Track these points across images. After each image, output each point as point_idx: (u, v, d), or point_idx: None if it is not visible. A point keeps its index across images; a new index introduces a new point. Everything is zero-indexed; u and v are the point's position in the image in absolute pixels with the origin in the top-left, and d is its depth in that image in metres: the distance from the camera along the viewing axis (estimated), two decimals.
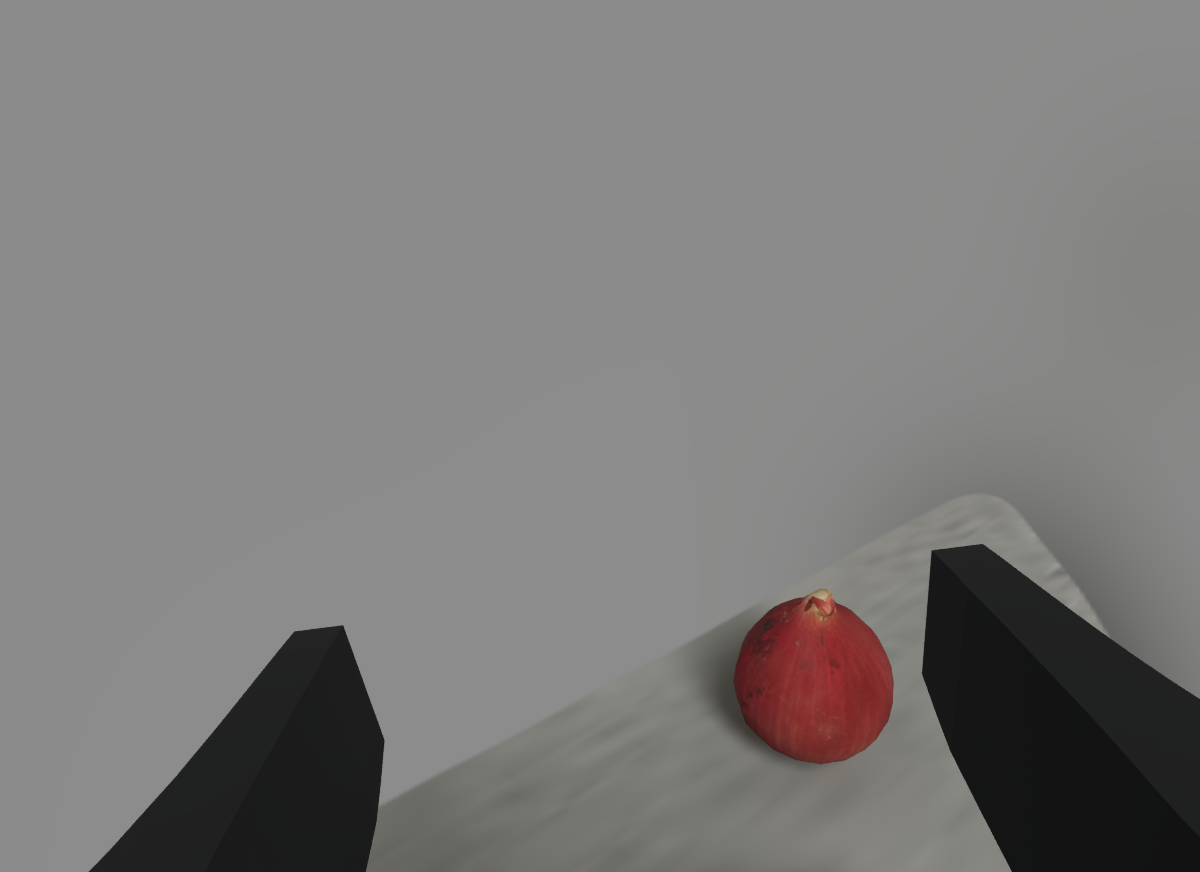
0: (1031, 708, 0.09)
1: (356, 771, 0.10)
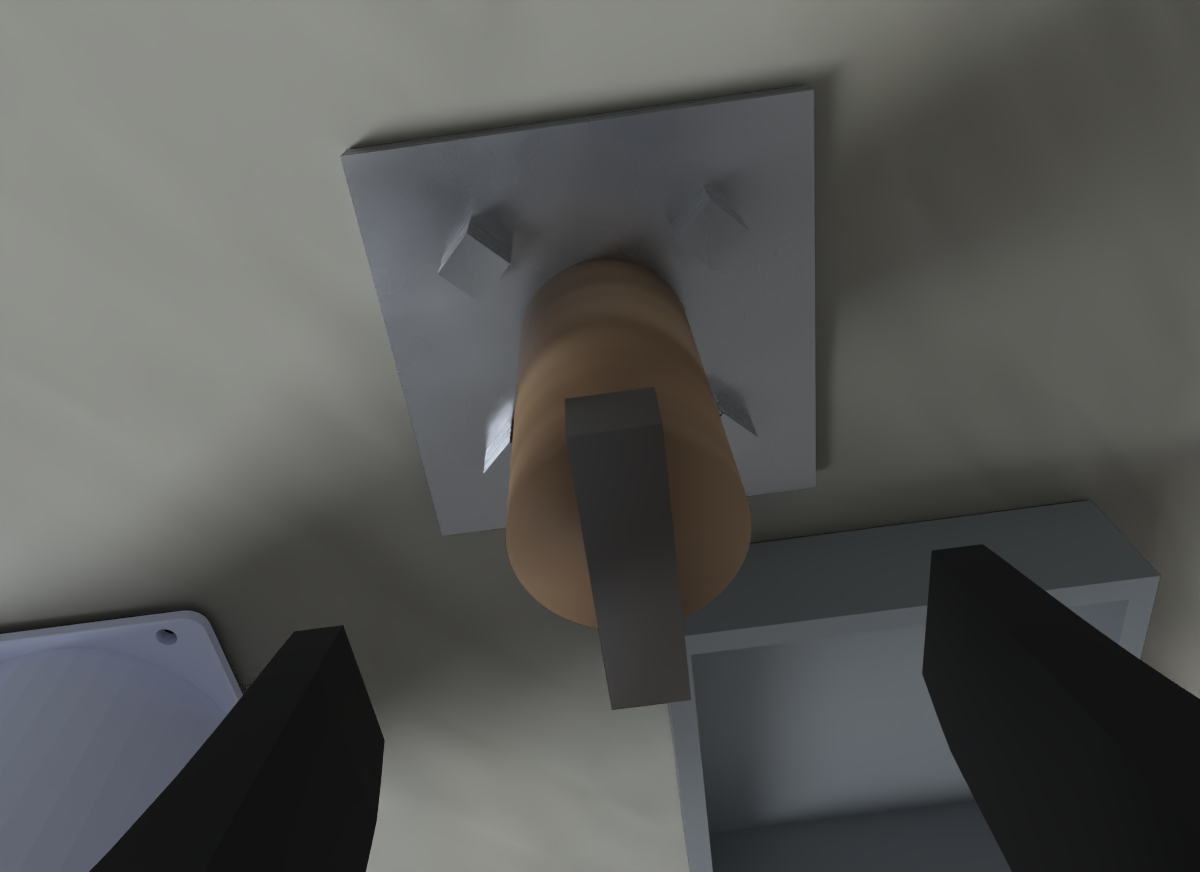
0: (1031, 708, 0.09)
1: (356, 771, 0.10)
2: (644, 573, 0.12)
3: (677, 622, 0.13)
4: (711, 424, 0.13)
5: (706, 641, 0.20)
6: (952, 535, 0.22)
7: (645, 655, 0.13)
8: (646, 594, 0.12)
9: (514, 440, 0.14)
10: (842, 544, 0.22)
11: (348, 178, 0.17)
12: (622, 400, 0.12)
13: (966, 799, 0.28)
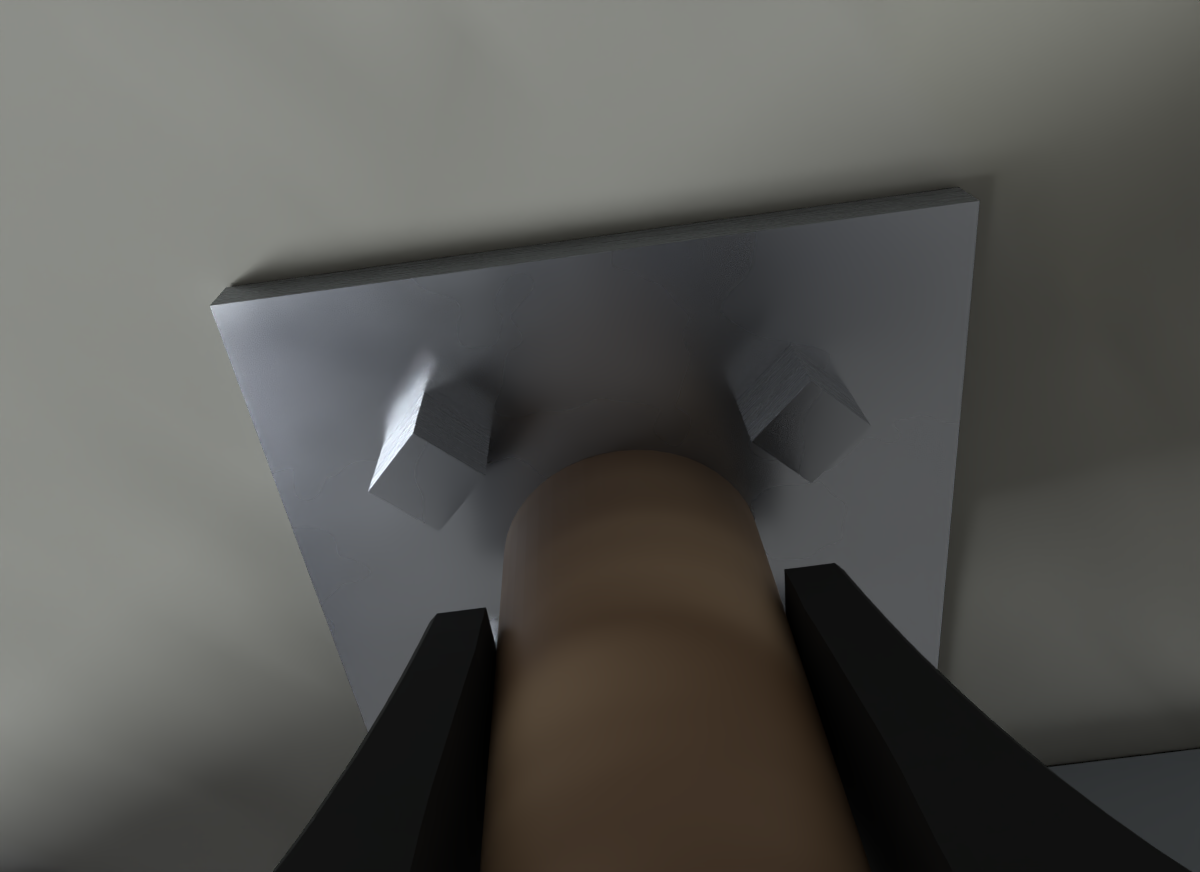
0: (850, 730, 0.09)
1: None
2: None
3: None
4: None
5: None
6: (1118, 794, 0.16)
7: None
8: None
9: (483, 865, 0.08)
10: None
11: (227, 336, 0.11)
12: None
13: None
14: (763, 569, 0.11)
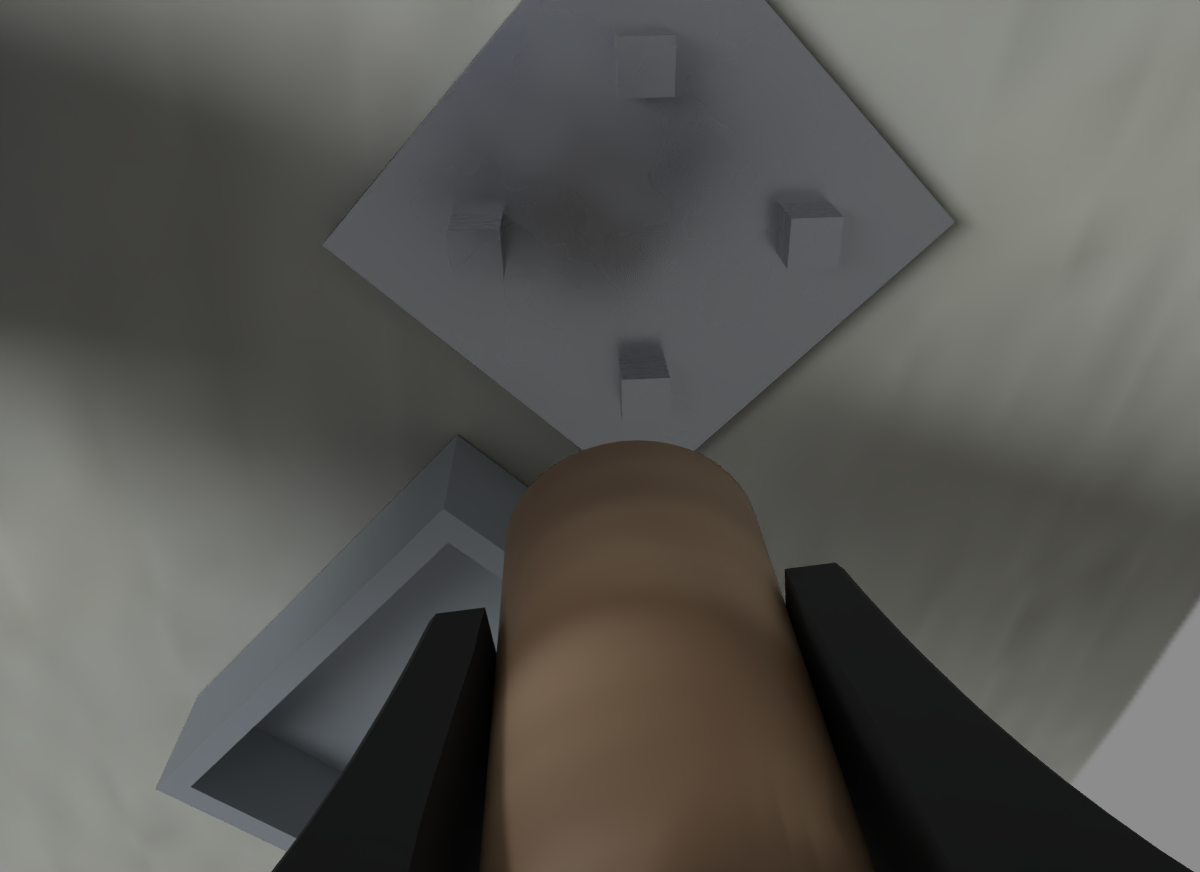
0: (851, 730, 0.09)
1: None
2: None
3: None
4: None
5: (473, 541, 0.19)
6: None
7: None
8: None
9: (485, 842, 0.08)
10: None
11: None
12: None
13: None
14: (763, 559, 0.11)
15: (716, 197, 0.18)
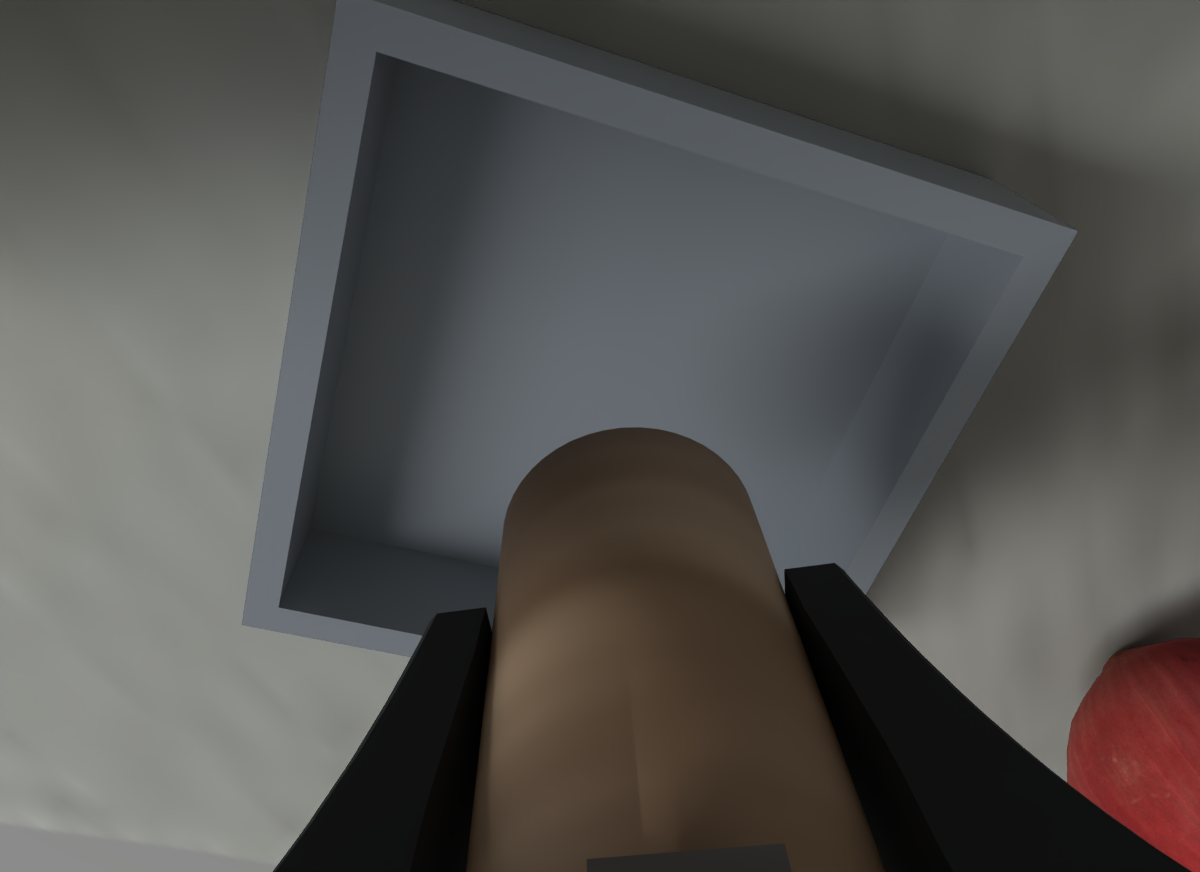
0: (850, 730, 0.09)
1: None
2: None
3: None
4: (857, 832, 0.07)
5: (410, 32, 0.12)
6: (816, 125, 0.15)
7: None
8: None
9: (478, 799, 0.08)
10: (665, 74, 0.15)
11: None
12: None
13: None
14: (762, 544, 0.11)
15: None
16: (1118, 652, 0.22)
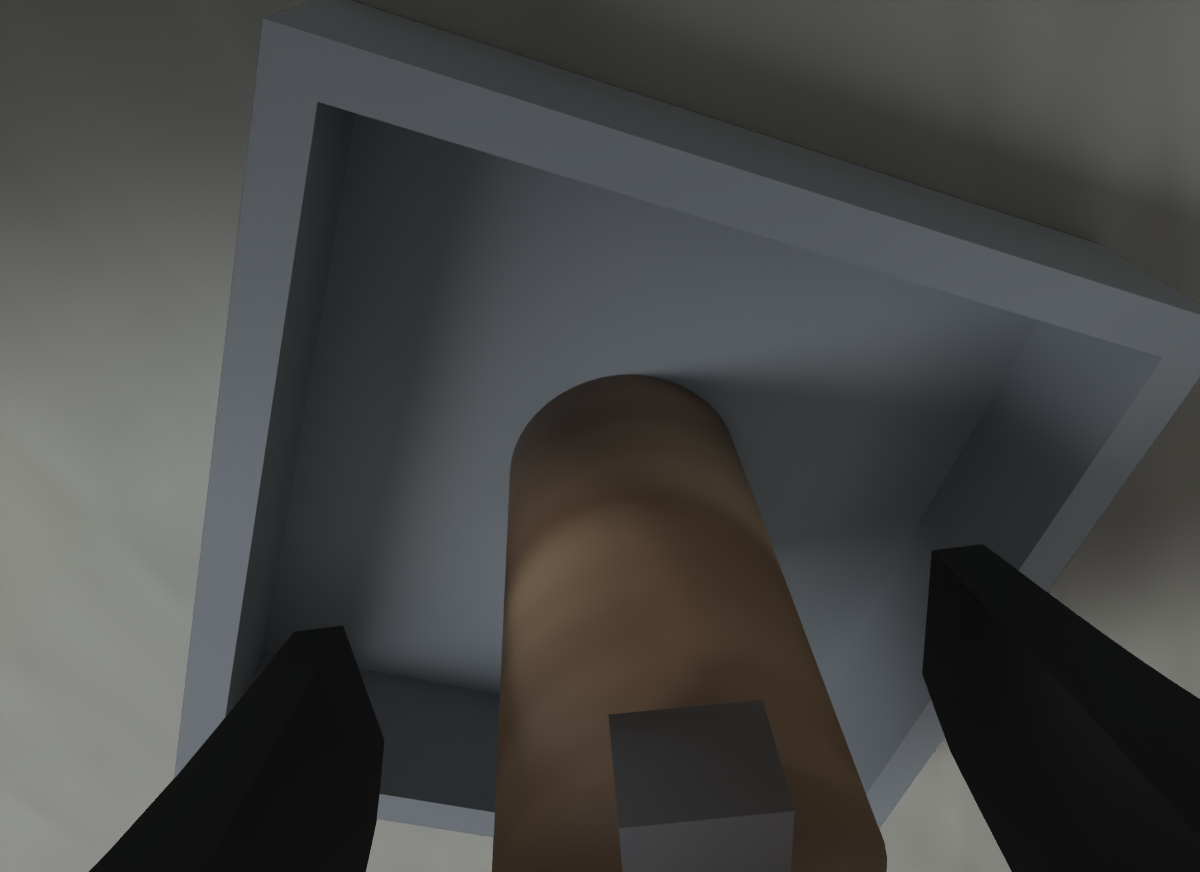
0: (1031, 708, 0.09)
1: (356, 771, 0.10)
2: None
3: None
4: (821, 704, 0.09)
5: (362, 76, 0.09)
6: (888, 182, 0.12)
7: None
8: None
9: (506, 689, 0.09)
10: (698, 119, 0.12)
11: None
12: (711, 732, 0.07)
13: None
14: (743, 477, 0.12)
15: None
16: None
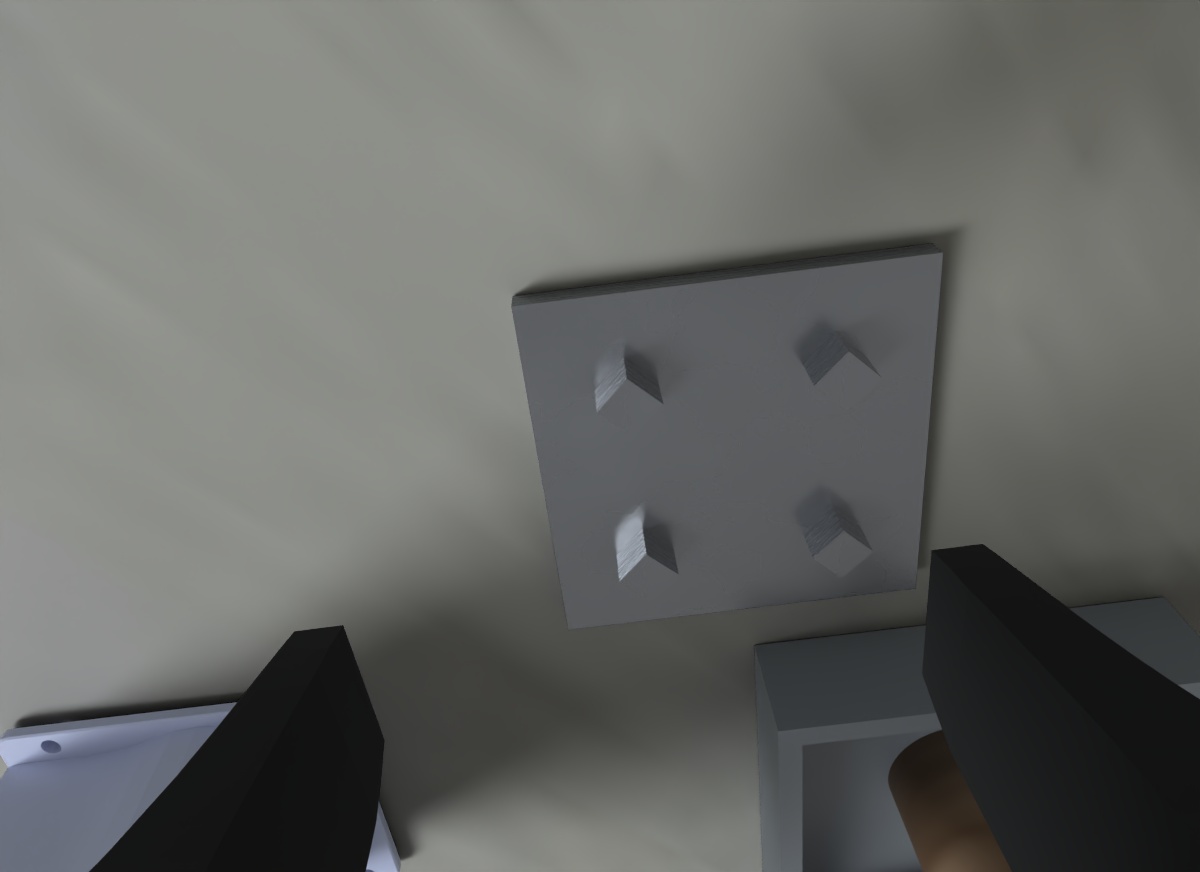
0: (1031, 708, 0.09)
1: (356, 771, 0.10)
2: None
3: None
4: None
5: (817, 733, 0.22)
6: None
7: None
8: None
9: None
10: None
11: (515, 323, 0.19)
12: None
13: None
14: None
15: (757, 402, 0.20)
16: None
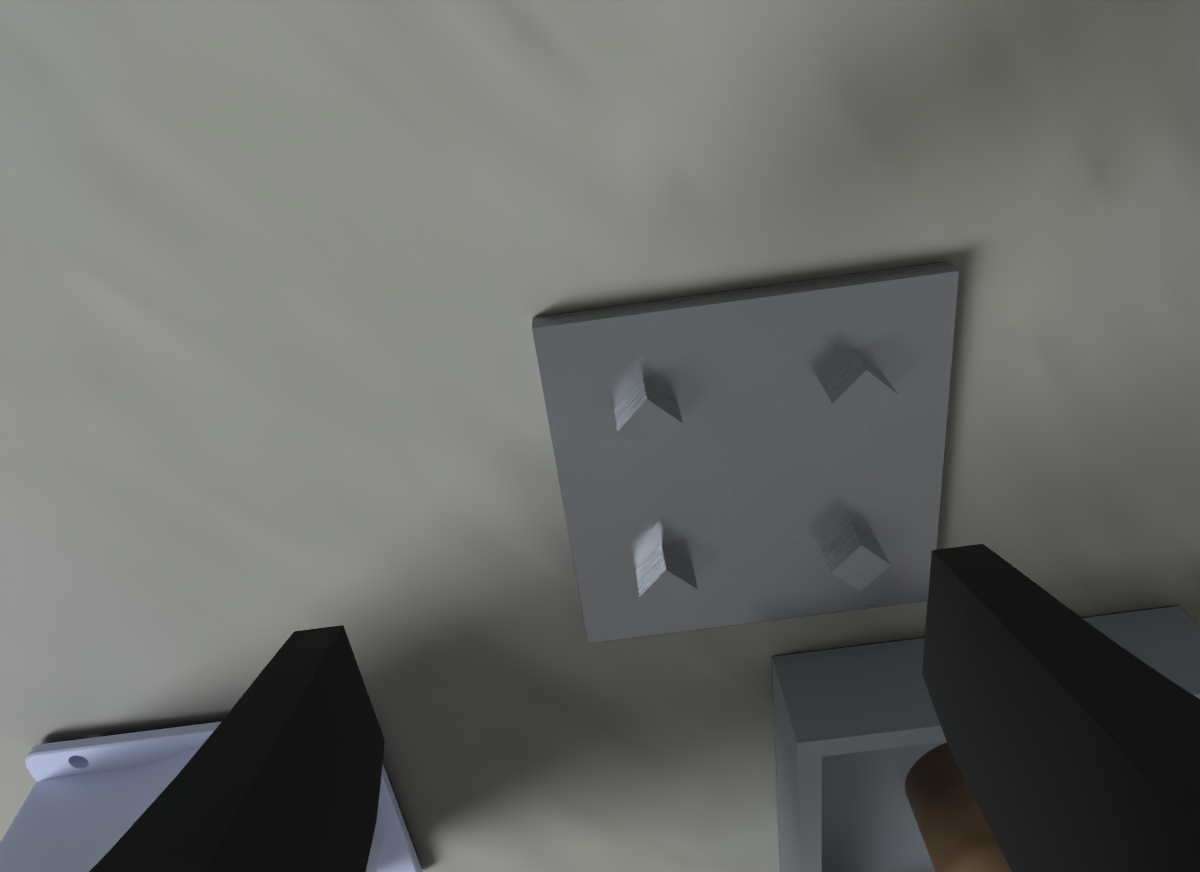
0: (1031, 708, 0.09)
1: (356, 771, 0.10)
2: None
3: None
4: None
5: (836, 744, 0.22)
6: None
7: None
8: None
9: None
10: None
11: (536, 345, 0.19)
12: None
13: None
14: None
15: (774, 419, 0.20)
16: None
